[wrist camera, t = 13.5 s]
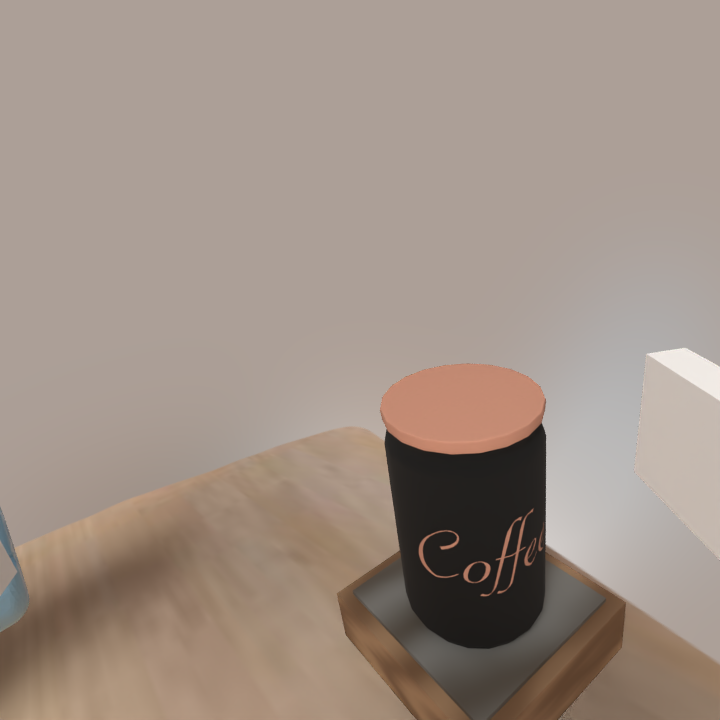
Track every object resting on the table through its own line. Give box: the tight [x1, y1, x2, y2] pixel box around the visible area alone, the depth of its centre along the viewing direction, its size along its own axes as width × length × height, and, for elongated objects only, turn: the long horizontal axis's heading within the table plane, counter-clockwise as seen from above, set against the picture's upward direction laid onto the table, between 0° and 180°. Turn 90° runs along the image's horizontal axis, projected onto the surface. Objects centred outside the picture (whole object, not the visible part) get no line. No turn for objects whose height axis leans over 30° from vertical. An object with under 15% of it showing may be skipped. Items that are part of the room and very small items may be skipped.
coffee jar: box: [380, 364, 546, 649], centre depth 37 cm, size 11×11×18 cm
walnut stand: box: [337, 551, 626, 720], centre depth 41 cm, size 16×16×5 cm
